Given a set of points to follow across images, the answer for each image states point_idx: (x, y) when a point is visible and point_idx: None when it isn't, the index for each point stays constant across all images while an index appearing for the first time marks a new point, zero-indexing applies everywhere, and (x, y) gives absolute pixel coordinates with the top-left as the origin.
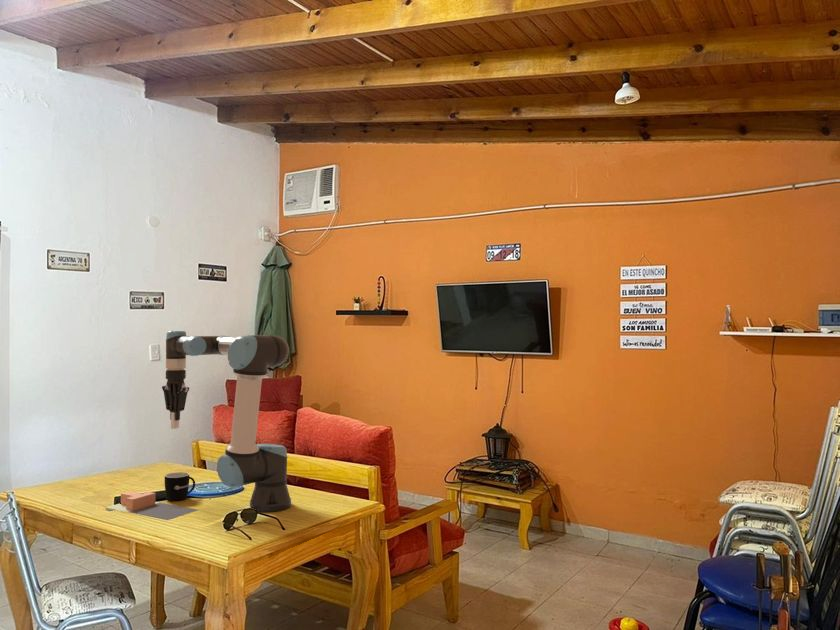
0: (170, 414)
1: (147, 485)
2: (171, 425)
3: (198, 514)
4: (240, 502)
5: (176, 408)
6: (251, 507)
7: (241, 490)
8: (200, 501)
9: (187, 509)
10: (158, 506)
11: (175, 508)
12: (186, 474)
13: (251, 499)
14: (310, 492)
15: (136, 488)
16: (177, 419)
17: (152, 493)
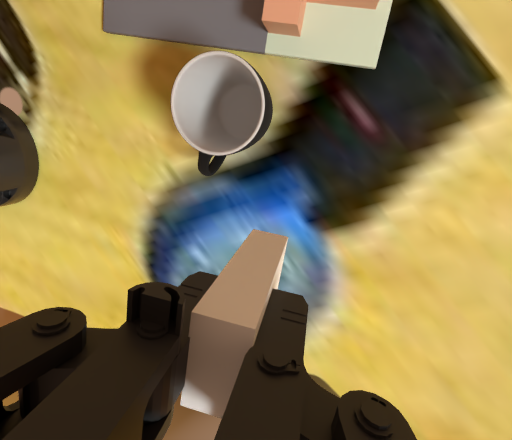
0: (300, 336)
1: (475, 256)
2: (277, 245)
3: (93, 11)
4: (78, 164)
5: (96, 357)
6: (4, 108)
7: (151, 272)
8: (177, 136)
9: (133, 19)
10: (237, 9)
11: (172, 13)
12: (206, 149)
13: (11, 135)
14: (4, 293)
15: (491, 210)
16: (192, 281)
17: (268, 9)
